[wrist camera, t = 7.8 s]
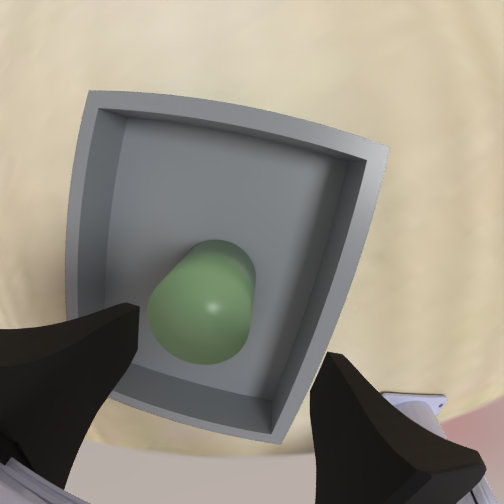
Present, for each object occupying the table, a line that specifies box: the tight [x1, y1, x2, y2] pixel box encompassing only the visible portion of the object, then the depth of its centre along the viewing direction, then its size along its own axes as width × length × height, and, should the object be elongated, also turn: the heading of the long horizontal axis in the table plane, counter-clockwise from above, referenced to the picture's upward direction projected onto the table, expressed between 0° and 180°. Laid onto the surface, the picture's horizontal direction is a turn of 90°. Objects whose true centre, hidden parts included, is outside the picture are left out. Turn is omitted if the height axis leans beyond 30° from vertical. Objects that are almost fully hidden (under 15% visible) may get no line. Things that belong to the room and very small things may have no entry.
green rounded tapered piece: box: [147, 240, 256, 365], centre depth 16 cm, size 5×5×6 cm
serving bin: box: [65, 90, 390, 444], centre depth 18 cm, size 20×16×4 cm
